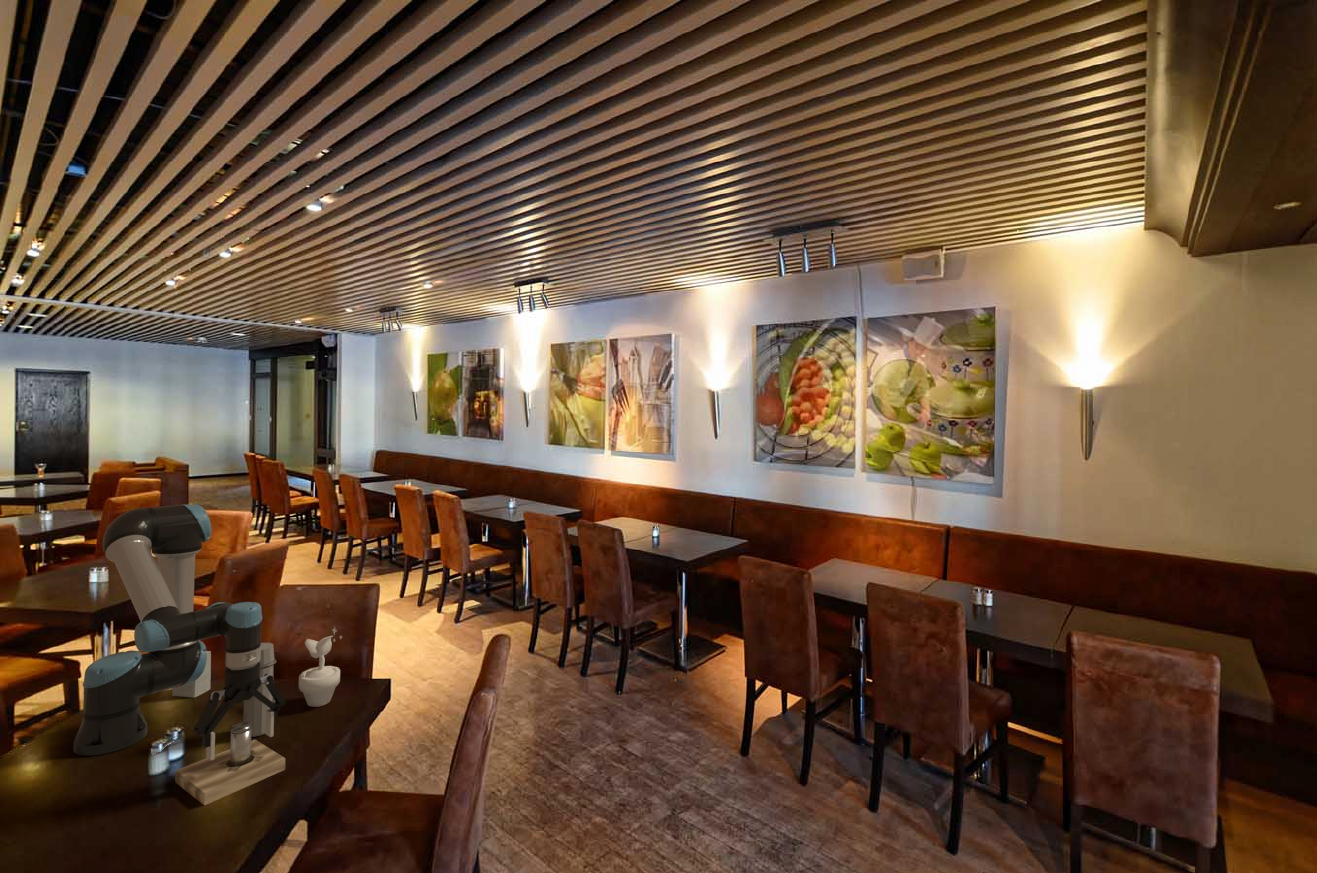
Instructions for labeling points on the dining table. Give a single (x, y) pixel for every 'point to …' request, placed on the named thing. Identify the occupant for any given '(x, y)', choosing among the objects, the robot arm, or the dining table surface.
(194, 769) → the jig
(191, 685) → the small box
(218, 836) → the dining table surface
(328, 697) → the potted plant
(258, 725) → the water bottle
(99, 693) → the robot arm
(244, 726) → the grey metallic cylinder
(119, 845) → the dining table surface
